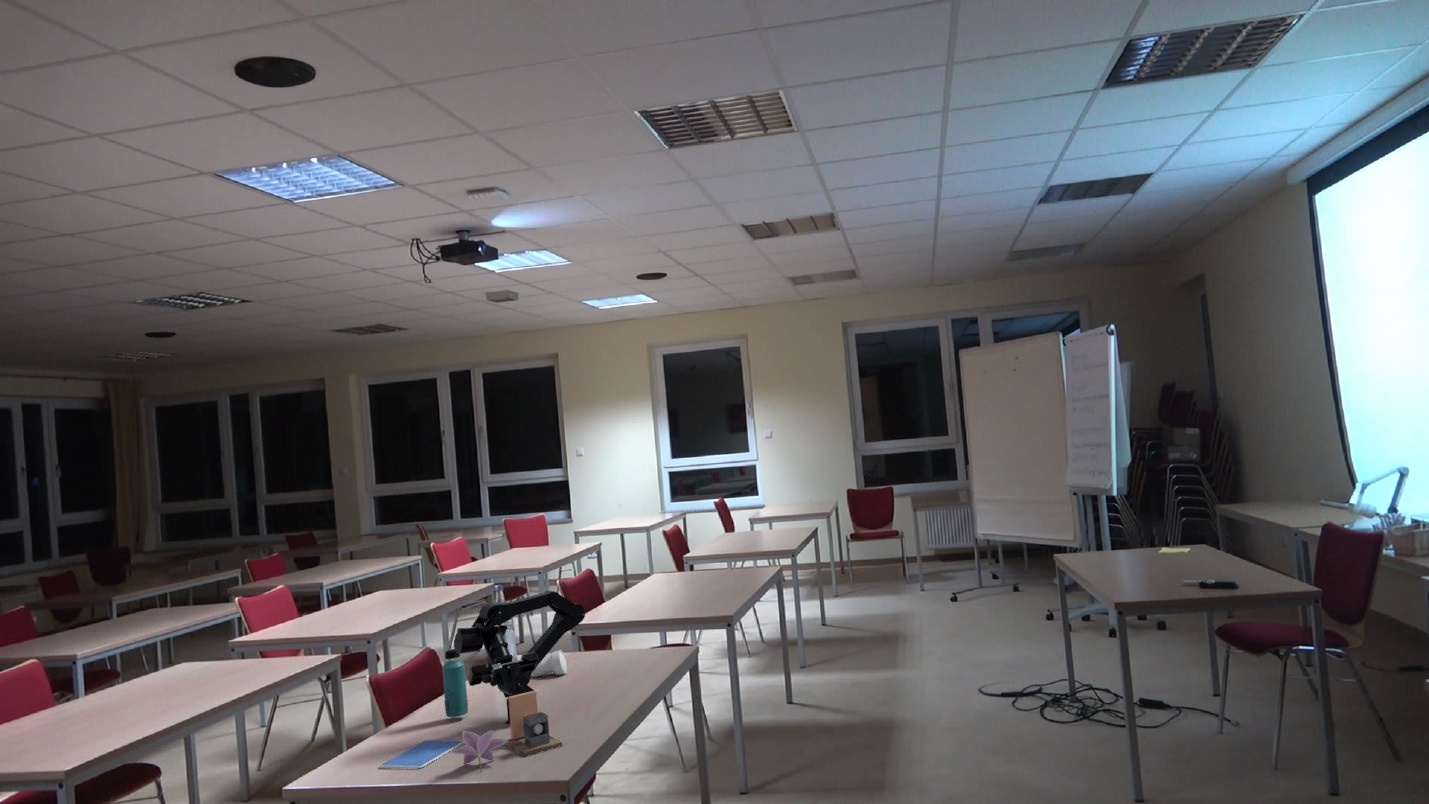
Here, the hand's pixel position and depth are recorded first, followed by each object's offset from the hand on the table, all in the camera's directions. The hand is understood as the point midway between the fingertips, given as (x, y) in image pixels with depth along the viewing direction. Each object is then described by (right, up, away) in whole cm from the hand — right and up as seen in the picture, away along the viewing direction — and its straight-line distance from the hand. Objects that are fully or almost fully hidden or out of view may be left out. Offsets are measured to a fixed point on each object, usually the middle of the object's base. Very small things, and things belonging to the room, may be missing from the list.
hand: (513, 694), depth 233 cm
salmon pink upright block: (+7, -8, -9) cm, 14 cm away
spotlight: (-2, -16, +65) cm, 67 cm away
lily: (-3, -10, -23) cm, 25 cm away
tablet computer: (-21, -13, -10) cm, 26 cm away
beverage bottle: (-21, -14, +21) cm, 33 cm away
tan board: (+7, -10, -10) cm, 16 cm away
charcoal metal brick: (+9, -9, -12) cm, 18 cm away
